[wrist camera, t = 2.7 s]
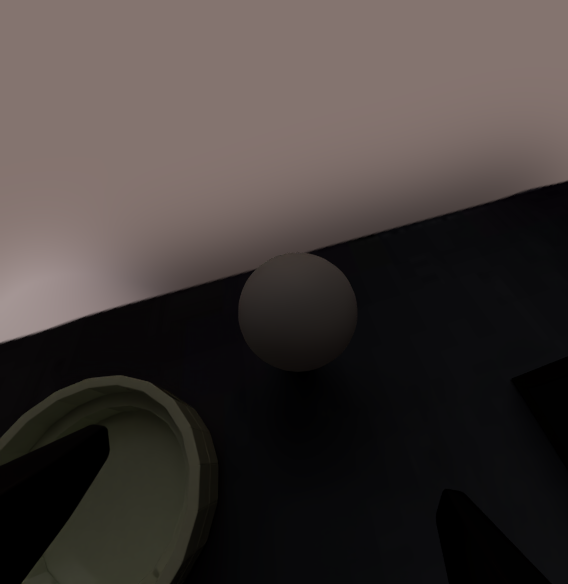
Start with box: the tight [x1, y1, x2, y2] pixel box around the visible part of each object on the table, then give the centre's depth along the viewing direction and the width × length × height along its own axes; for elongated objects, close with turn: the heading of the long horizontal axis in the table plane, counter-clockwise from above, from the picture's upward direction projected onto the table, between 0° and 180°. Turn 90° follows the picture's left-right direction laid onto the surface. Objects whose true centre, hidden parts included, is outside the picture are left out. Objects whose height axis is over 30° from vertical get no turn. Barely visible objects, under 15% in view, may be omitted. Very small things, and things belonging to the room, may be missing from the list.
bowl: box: [0, 375, 218, 584], centre depth 17 cm, size 12×12×4 cm
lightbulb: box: [239, 253, 357, 372], centre depth 17 cm, size 6×6×11 cm
